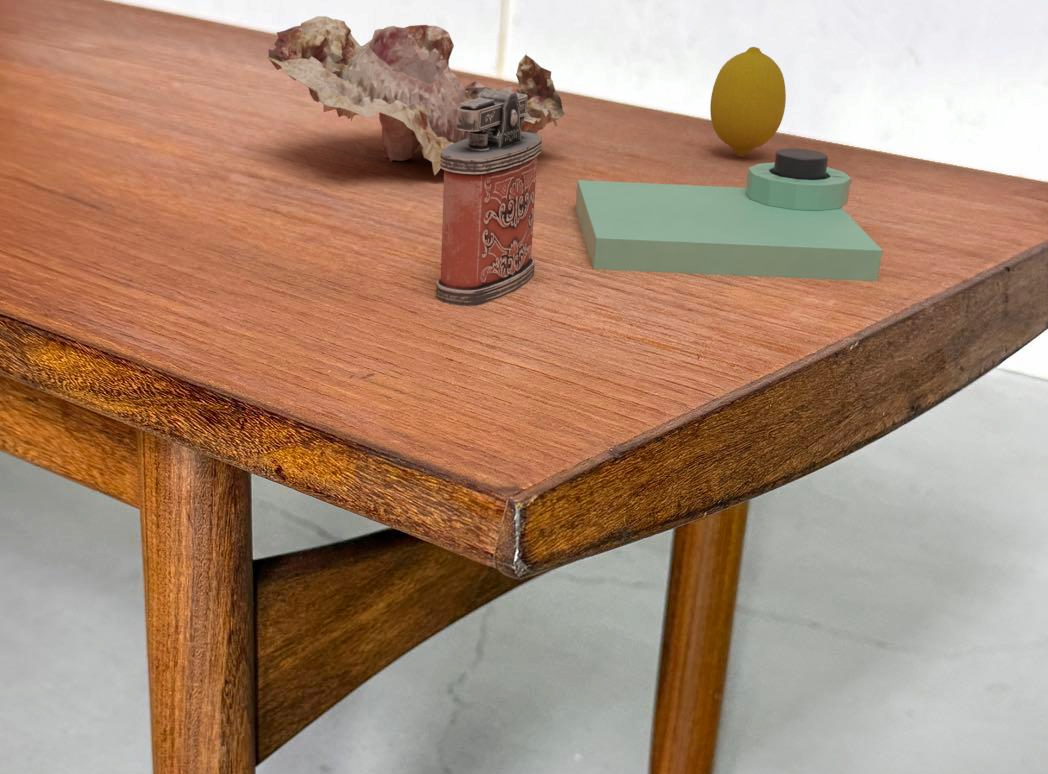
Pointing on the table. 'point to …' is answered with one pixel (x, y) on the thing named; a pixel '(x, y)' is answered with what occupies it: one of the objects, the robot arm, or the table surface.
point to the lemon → (748, 101)
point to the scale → (728, 228)
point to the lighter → (488, 202)
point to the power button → (800, 164)
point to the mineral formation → (400, 82)
